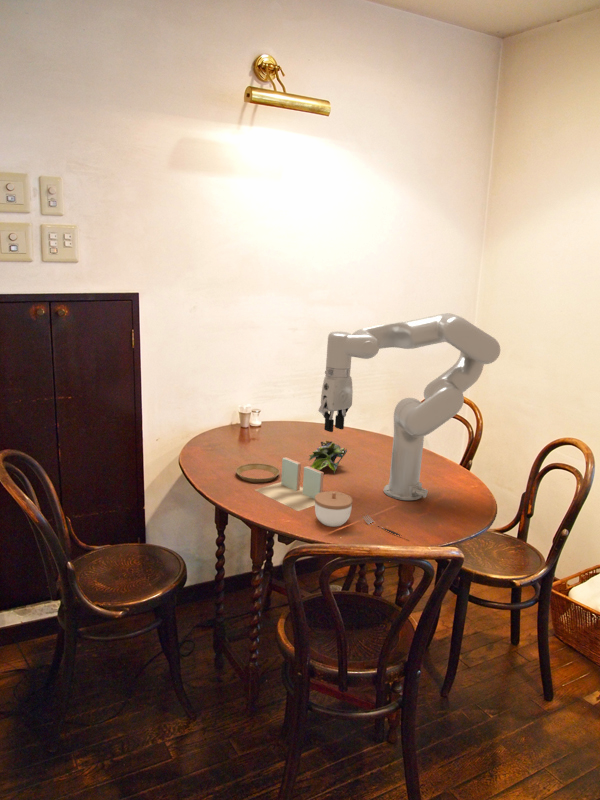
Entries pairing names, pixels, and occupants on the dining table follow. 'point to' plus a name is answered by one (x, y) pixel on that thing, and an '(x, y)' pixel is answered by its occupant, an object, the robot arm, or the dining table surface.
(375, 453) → the dining table surface
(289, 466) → the tile
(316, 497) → the lidded jar
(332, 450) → the passion flower
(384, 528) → the fork
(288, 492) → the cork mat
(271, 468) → the plant saucer
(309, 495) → the tile
